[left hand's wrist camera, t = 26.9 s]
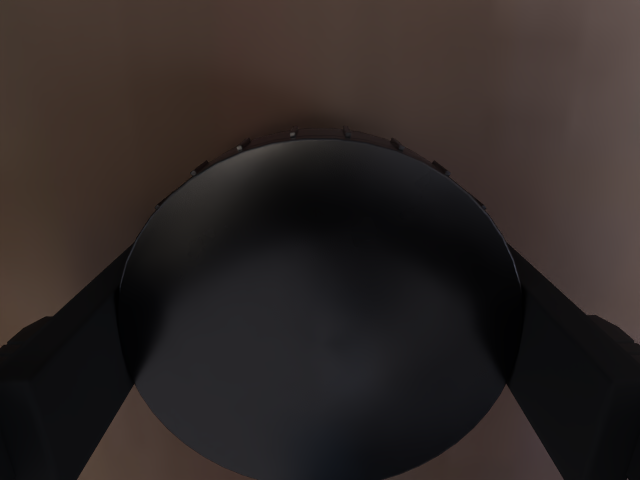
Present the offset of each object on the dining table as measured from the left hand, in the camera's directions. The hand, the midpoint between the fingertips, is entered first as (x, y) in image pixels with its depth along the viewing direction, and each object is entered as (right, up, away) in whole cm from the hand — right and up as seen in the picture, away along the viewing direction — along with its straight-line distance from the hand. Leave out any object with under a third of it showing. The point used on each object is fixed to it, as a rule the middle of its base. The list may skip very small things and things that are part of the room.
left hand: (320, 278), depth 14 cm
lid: (0, -1, -3) cm, 3 cm away
